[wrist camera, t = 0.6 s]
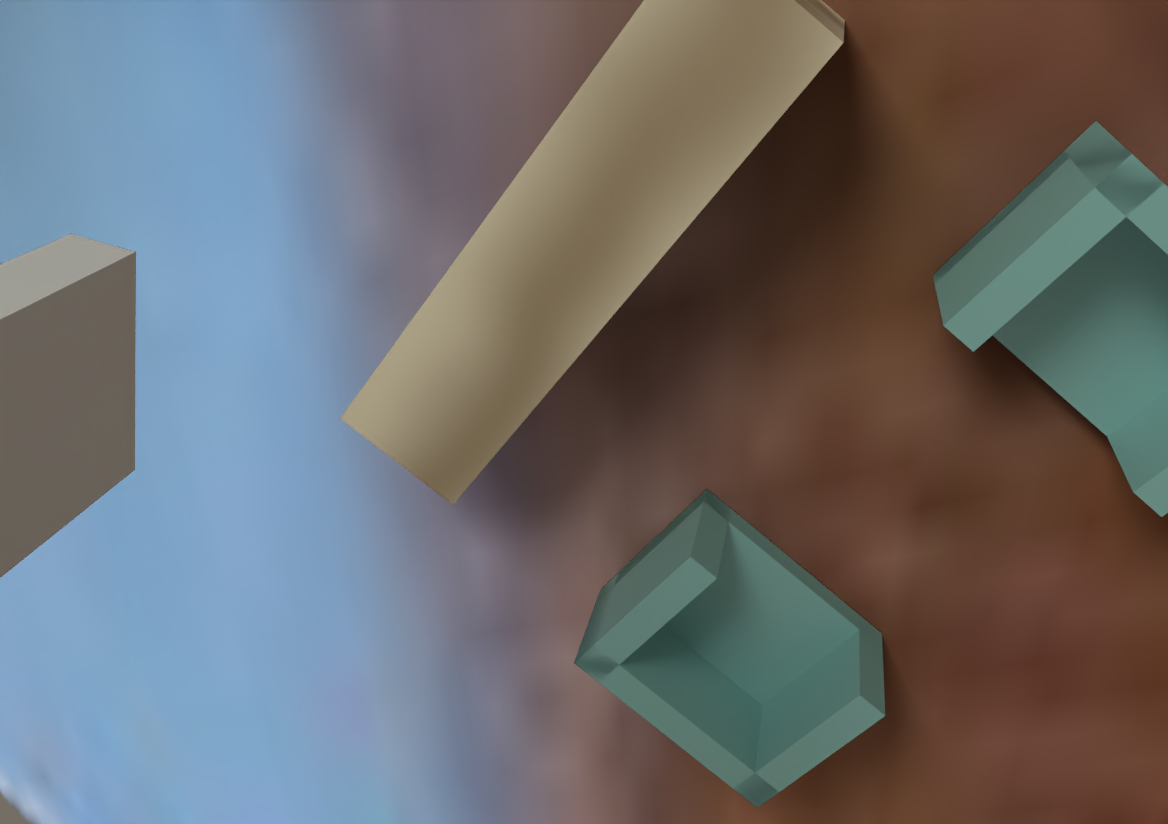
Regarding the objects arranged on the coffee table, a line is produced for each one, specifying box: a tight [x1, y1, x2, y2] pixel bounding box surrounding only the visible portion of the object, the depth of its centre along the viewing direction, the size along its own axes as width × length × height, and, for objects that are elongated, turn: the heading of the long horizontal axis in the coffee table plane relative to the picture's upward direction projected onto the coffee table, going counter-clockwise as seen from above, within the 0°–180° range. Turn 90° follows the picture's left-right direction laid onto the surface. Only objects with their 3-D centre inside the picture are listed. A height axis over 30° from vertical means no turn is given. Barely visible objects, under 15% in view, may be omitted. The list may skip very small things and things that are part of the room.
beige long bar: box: [340, 0, 845, 505], centre depth 29 cm, size 4×16×5 cm, turn 143°
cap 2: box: [933, 121, 1168, 517], centre depth 27 cm, size 8×6×4 cm
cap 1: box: [574, 489, 885, 808], centre depth 34 cm, size 8×6×4 cm
